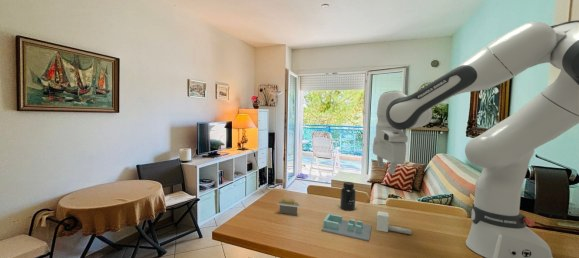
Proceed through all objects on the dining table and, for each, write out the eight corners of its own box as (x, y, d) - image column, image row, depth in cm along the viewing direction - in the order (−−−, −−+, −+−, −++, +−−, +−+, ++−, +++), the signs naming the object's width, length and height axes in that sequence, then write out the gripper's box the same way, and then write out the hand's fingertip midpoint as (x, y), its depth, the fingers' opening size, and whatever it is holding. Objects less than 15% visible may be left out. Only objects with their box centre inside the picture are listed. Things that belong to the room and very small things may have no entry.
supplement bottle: (352, 212, 107) (353, 186, 106) (338, 208, 110) (339, 183, 110) (356, 207, 113) (357, 182, 112) (343, 204, 116) (343, 180, 115)
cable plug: (410, 232, 89) (411, 216, 89) (411, 237, 85) (412, 221, 85) (377, 225, 94) (377, 211, 93) (376, 230, 90) (377, 214, 90)
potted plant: (273, 206, 112) (274, 193, 112) (311, 211, 108) (311, 197, 107) (265, 217, 101) (265, 202, 100) (306, 222, 96) (306, 207, 96)
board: (371, 226, 93) (371, 219, 93) (368, 241, 82) (369, 233, 82) (329, 218, 100) (329, 211, 100) (321, 230, 89) (321, 223, 89)
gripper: (369, 131, 99) (367, 163, 100) (392, 137, 78) (389, 177, 79) (384, 132, 99) (382, 164, 100) (410, 137, 78) (407, 178, 79)
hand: (385, 170), depth 89 cm, fingers open, 8 cm apart
